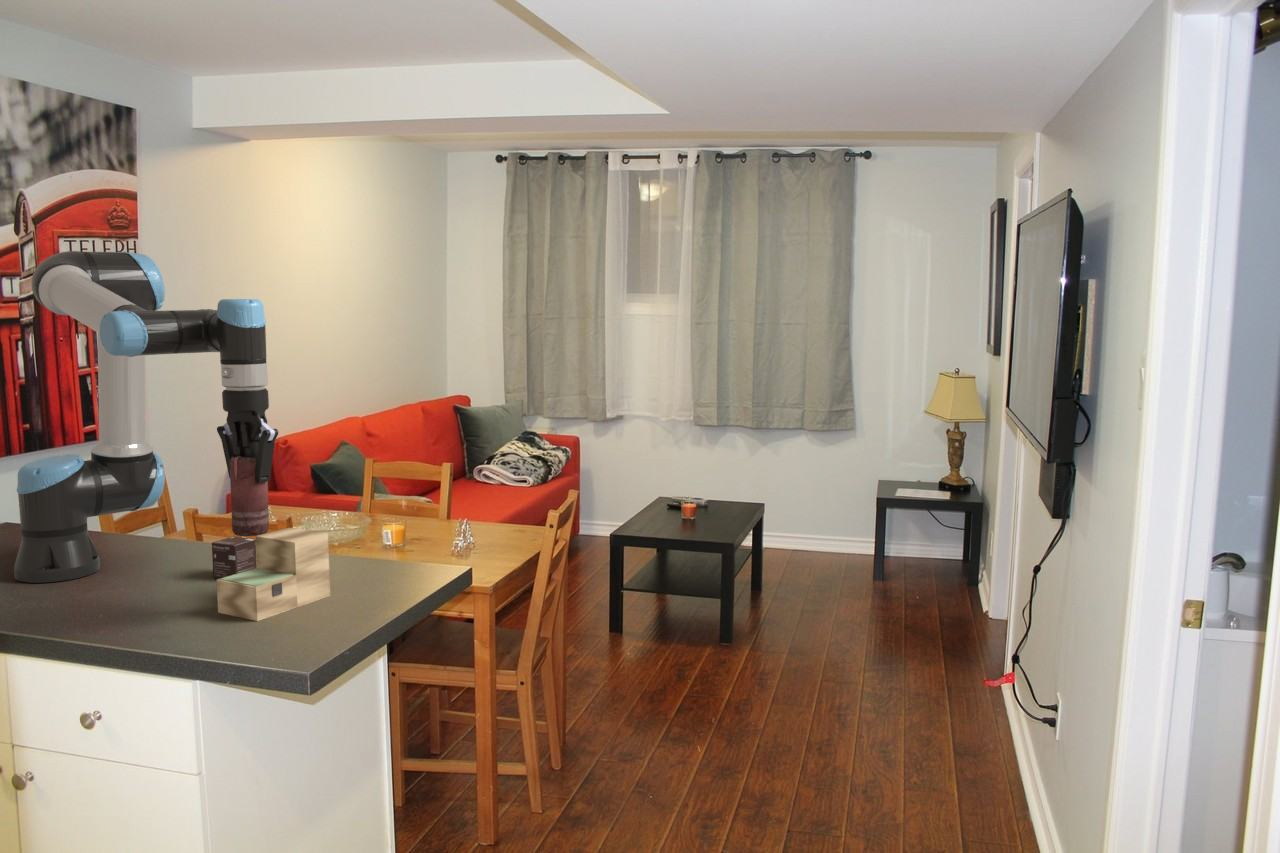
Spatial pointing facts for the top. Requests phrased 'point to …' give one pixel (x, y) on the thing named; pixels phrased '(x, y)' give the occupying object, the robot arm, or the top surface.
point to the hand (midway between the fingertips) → (251, 520)
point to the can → (248, 498)
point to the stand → (278, 576)
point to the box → (233, 556)
